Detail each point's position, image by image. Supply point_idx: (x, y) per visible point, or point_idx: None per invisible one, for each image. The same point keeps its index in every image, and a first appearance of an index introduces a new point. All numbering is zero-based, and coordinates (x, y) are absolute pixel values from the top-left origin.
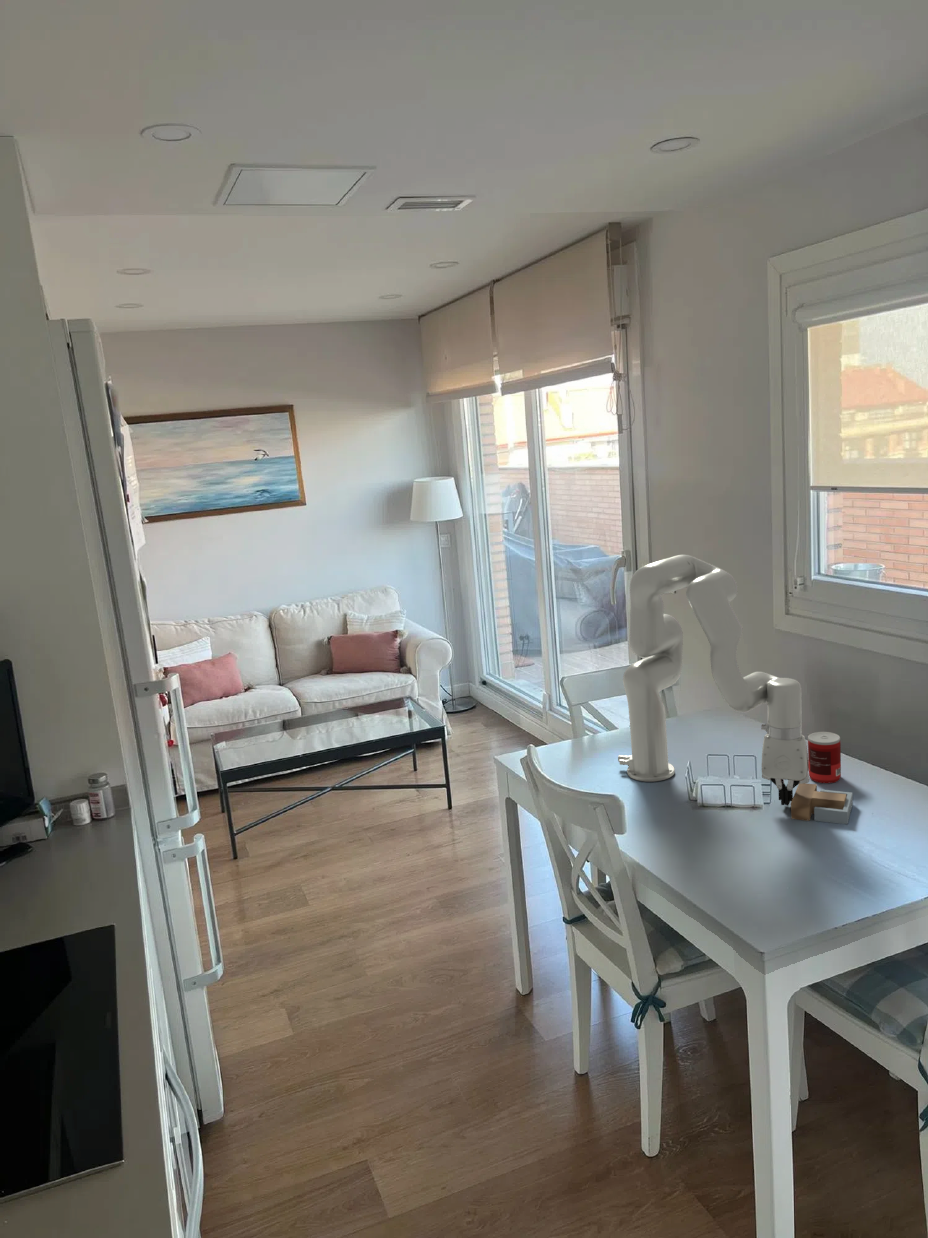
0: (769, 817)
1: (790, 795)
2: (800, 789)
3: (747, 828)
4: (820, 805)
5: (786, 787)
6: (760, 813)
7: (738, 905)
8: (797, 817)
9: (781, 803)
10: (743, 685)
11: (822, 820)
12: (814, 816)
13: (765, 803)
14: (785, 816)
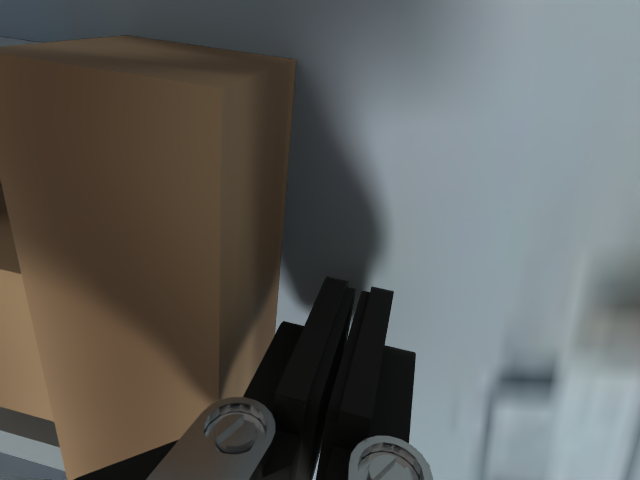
0: (538, 64)
1: (273, 363)
2: None
3: None
4: (6, 221)
5: (287, 458)
6: (634, 162)
7: None
8: (226, 55)
9: (388, 297)
10: None
11: (13, 42)
12: None
13: (538, 377)
14: (357, 116)
